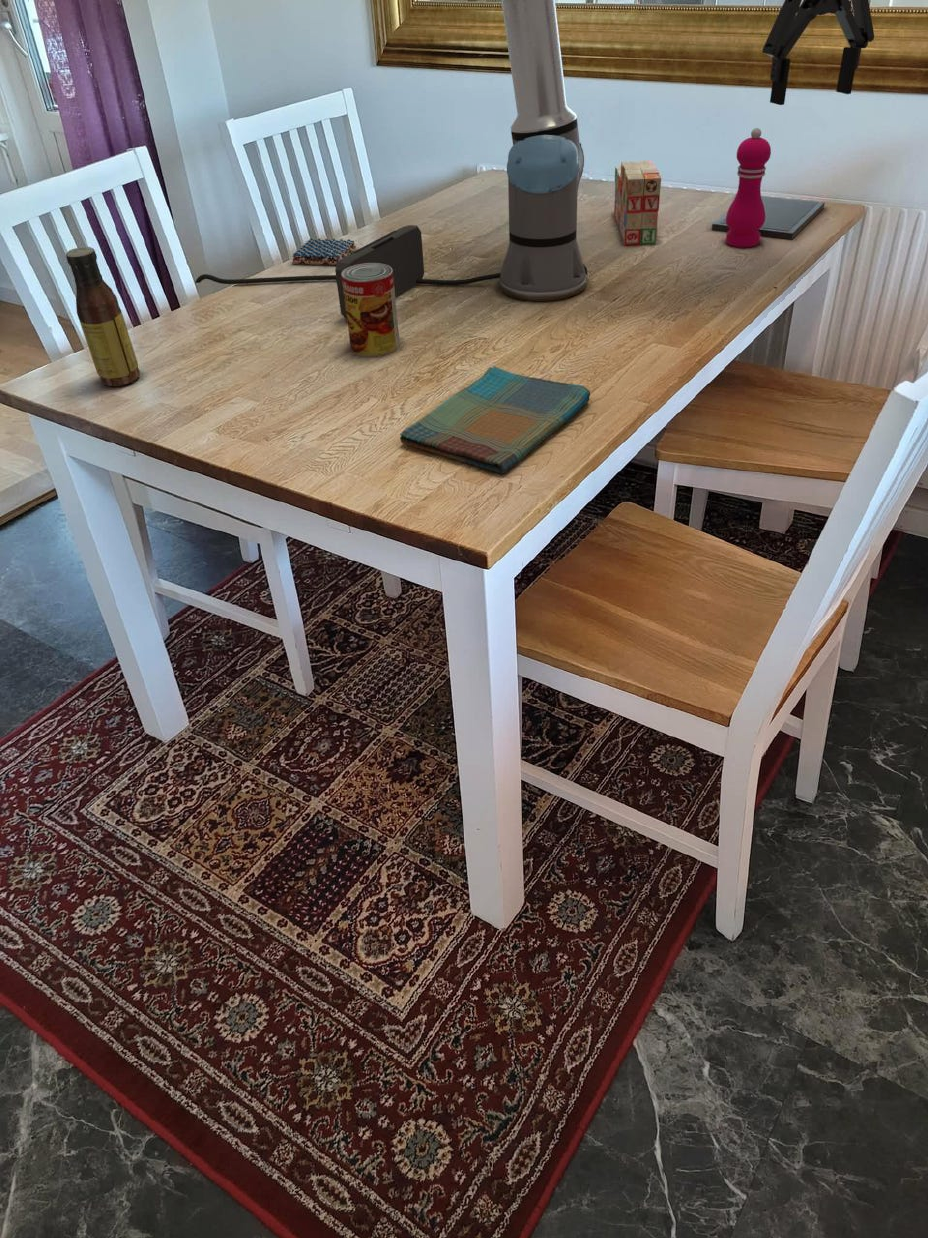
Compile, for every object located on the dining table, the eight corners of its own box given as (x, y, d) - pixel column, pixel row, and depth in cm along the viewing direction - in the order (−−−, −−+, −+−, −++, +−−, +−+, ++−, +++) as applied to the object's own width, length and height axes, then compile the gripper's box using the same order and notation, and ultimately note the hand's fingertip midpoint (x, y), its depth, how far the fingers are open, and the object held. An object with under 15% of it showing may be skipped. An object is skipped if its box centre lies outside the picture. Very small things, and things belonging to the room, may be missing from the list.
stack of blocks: (613, 212, 205) (615, 149, 197) (642, 211, 205) (646, 148, 197) (624, 245, 188) (627, 178, 181) (656, 244, 188) (661, 176, 180)
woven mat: (290, 265, 189) (288, 254, 188) (309, 247, 197) (308, 237, 196) (340, 266, 187) (339, 256, 185) (358, 248, 195) (357, 238, 193)
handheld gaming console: (413, 277, 180) (408, 221, 174) (425, 279, 179) (421, 223, 173) (339, 321, 165) (331, 261, 159) (352, 323, 164) (345, 263, 158)
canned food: (345, 342, 158) (335, 267, 150) (391, 333, 160) (383, 259, 152) (358, 360, 152) (348, 283, 144) (406, 350, 154) (399, 274, 146)
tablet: (791, 239, 186) (792, 232, 185) (711, 229, 193) (712, 223, 192) (823, 208, 200) (825, 201, 200) (748, 199, 207) (748, 193, 207)
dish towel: (594, 403, 136) (595, 386, 135) (506, 477, 121) (505, 459, 120) (491, 378, 144) (491, 362, 143) (396, 445, 129) (395, 428, 128)
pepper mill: (721, 247, 185) (734, 132, 172) (724, 235, 190) (737, 123, 178) (760, 249, 183) (776, 132, 170) (763, 237, 188) (778, 123, 176)
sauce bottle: (125, 368, 154) (89, 239, 142) (149, 377, 151) (114, 246, 138) (90, 383, 150) (49, 252, 138) (114, 392, 147) (74, 260, 135)
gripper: (783, -50, 141) (762, 111, 154) (917, -65, 148) (886, 91, 161) (751, -53, 146) (734, 103, 160) (881, -67, 154) (854, 84, 167)
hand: (810, 98), depth 161 cm, fingers open, 13 cm apart
